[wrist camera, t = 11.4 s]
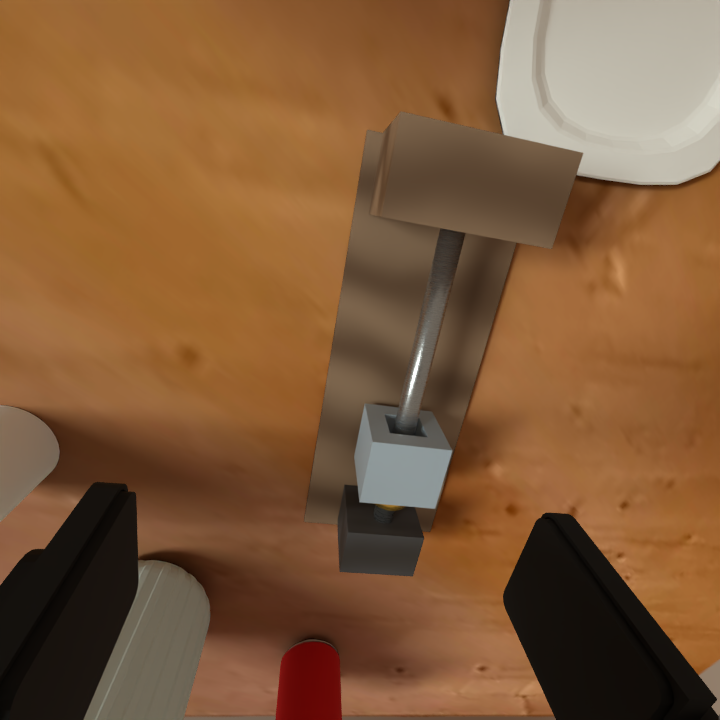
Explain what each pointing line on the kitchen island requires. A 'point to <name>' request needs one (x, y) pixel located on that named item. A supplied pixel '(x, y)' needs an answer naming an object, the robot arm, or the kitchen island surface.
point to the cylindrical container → (23, 455)
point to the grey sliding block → (400, 459)
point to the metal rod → (425, 342)
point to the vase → (155, 648)
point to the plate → (615, 84)
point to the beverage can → (310, 683)
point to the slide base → (406, 294)
